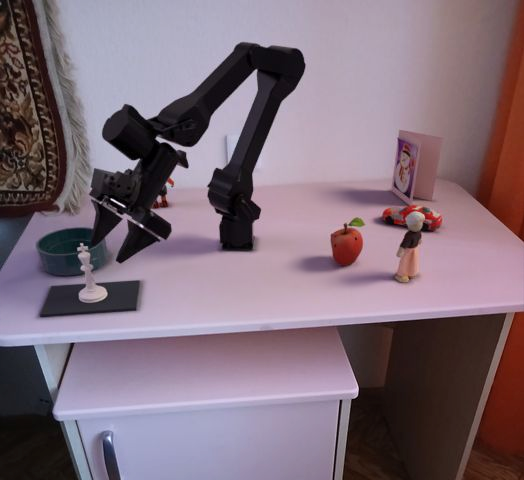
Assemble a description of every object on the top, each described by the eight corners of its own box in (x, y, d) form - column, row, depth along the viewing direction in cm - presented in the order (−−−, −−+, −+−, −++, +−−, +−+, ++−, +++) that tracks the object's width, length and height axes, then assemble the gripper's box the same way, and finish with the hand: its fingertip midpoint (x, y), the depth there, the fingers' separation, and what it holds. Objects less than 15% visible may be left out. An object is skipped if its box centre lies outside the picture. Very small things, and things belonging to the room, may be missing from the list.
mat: (139, 282, 101) (139, 280, 100) (136, 310, 92) (135, 307, 92) (51, 288, 99) (51, 285, 99) (40, 317, 91) (39, 314, 91)
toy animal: (145, 212, 129) (138, 161, 122) (143, 204, 133) (135, 154, 126) (178, 208, 130) (173, 158, 123) (175, 200, 135) (169, 151, 128)
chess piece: (108, 300, 94) (97, 247, 88) (79, 305, 93) (66, 252, 87) (106, 287, 98) (95, 236, 92) (78, 291, 97) (66, 240, 91)
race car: (378, 223, 122) (380, 206, 120) (386, 214, 126) (388, 198, 124) (436, 234, 117) (439, 216, 114) (442, 225, 120) (446, 208, 118)
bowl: (116, 247, 113) (112, 227, 110) (97, 277, 102) (93, 255, 100) (55, 246, 113) (50, 226, 111) (31, 276, 103) (24, 254, 100)
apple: (320, 264, 106) (323, 216, 100) (336, 252, 110) (340, 204, 104) (355, 275, 102) (361, 225, 96) (371, 261, 107) (377, 213, 101)
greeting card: (388, 190, 139) (395, 129, 130) (414, 188, 140) (423, 127, 131) (407, 206, 130) (417, 142, 121) (435, 203, 131) (447, 140, 122)
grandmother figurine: (409, 287, 98) (420, 221, 91) (389, 281, 100) (398, 216, 92) (423, 270, 103) (434, 206, 96) (403, 265, 105) (413, 202, 98)
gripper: (88, 137, 92) (42, 215, 93) (145, 161, 81) (93, 250, 81) (135, 172, 101) (93, 244, 102) (193, 198, 89) (145, 279, 90)
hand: (104, 253), depth 93 cm, fingers open, 9 cm apart
